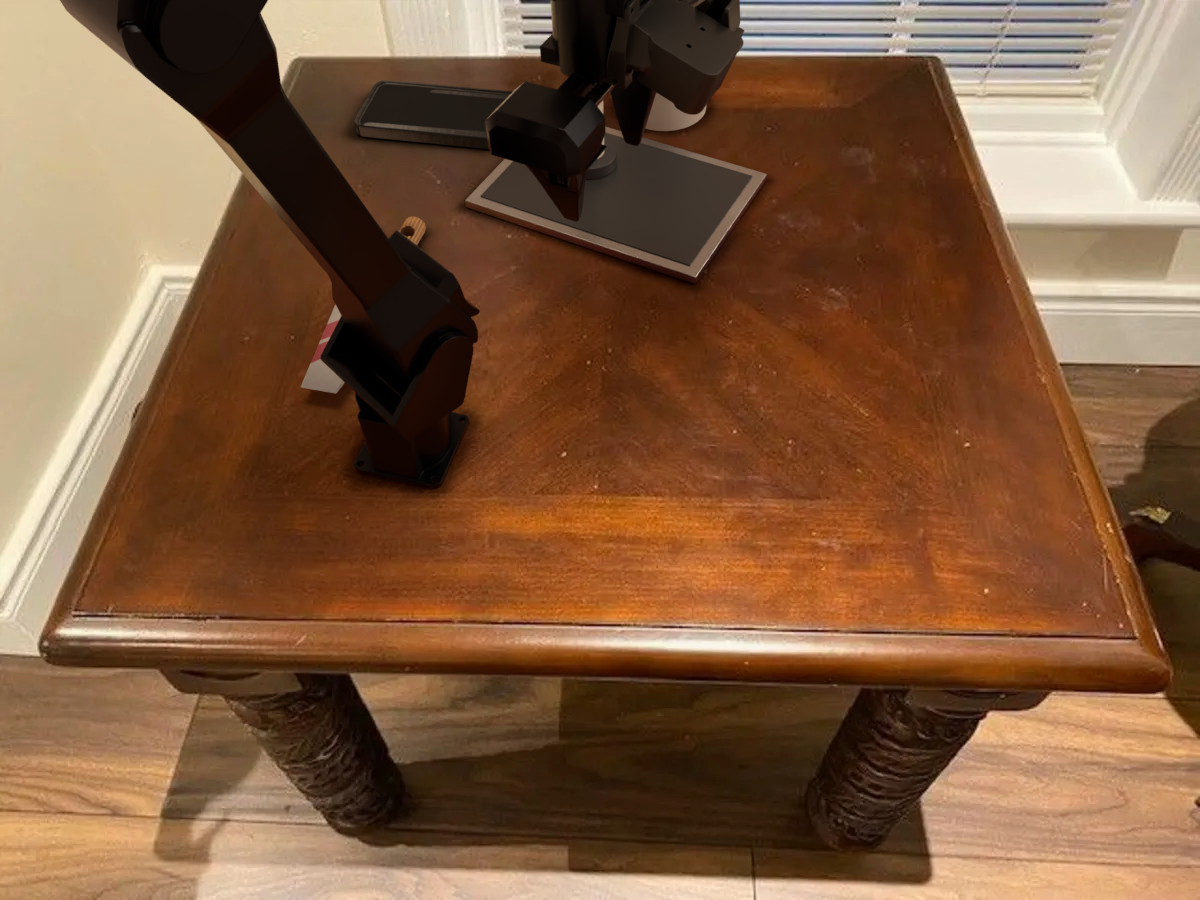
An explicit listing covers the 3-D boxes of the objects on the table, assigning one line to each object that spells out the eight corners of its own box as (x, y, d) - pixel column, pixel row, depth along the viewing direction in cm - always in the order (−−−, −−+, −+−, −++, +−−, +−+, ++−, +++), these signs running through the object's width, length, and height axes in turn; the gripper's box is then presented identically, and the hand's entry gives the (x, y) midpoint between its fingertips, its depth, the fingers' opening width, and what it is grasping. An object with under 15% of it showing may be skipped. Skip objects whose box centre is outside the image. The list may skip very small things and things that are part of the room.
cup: (608, 93, 100) (606, -29, 91) (685, 75, 102) (691, -47, 93) (640, 139, 96) (641, 15, 86) (720, 119, 97) (729, -4, 88)
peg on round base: (627, 160, 92) (627, 15, 82) (594, 187, 90) (589, 41, 79) (586, 141, 94) (580, -3, 84) (552, 166, 92) (541, 22, 81)
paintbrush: (288, 371, 74) (393, 208, 87) (297, 398, 76) (398, 234, 89) (338, 380, 73) (436, 214, 86) (345, 407, 75) (440, 241, 88)
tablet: (766, 181, 91) (767, 172, 91) (695, 284, 83) (696, 276, 83) (550, 117, 98) (550, 109, 97) (465, 207, 90) (464, 199, 89)
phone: (507, 140, 94) (350, 125, 96) (508, 151, 95) (353, 135, 97) (527, 92, 99) (377, 78, 101) (528, 102, 100) (380, 88, 102)
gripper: (656, 69, 51) (652, 299, 64) (789, -89, 62) (763, 136, 74) (465, 20, 55) (496, 248, 67) (621, -122, 65) (623, 98, 77)
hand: (603, 179), depth 71 cm, fingers open, 9 cm apart
